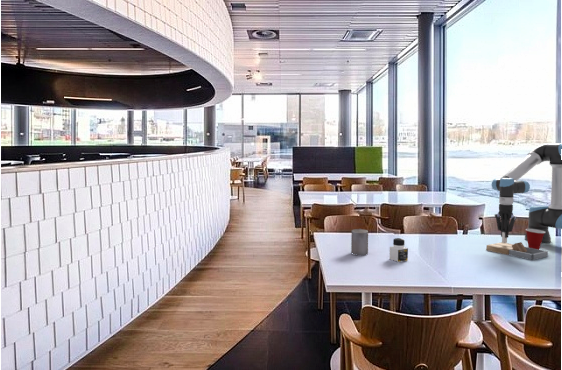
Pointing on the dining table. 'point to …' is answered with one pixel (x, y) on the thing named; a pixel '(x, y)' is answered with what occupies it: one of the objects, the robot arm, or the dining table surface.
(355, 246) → the pillar candle
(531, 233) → the plastic cup
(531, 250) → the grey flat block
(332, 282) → the dining table surface
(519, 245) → the brown square block
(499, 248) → the board
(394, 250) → the medicine bottle
